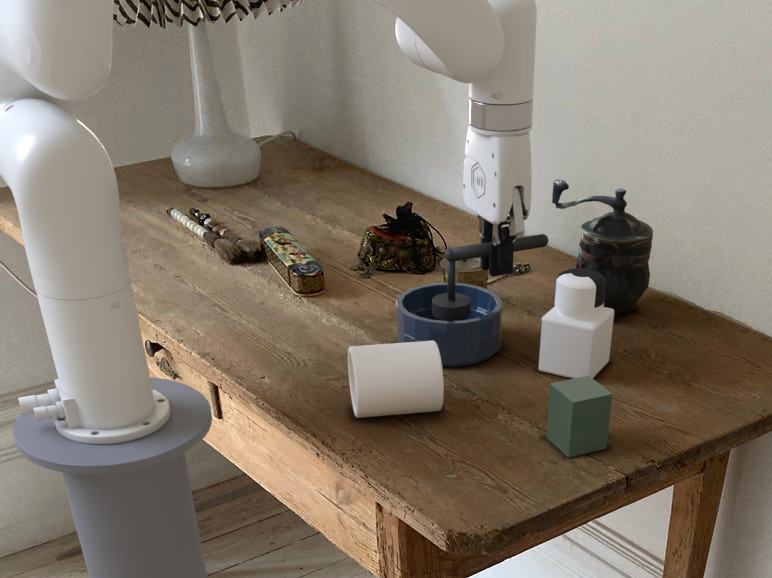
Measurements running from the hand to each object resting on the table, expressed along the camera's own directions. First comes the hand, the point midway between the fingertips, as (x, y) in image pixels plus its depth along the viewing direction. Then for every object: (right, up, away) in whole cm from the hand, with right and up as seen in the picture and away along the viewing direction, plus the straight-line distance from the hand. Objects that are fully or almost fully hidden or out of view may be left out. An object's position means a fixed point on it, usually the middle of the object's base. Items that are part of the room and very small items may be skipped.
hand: (496, 270), depth 132 cm
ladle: (-1, -4, +3) cm, 5 cm away
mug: (-12, -19, -9) cm, 25 cm away
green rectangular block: (+9, -25, -16) cm, 31 cm away
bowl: (-6, -9, +3) cm, 11 cm away
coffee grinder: (+14, -1, +13) cm, 20 cm away
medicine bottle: (+10, -13, 0) cm, 16 cm away
